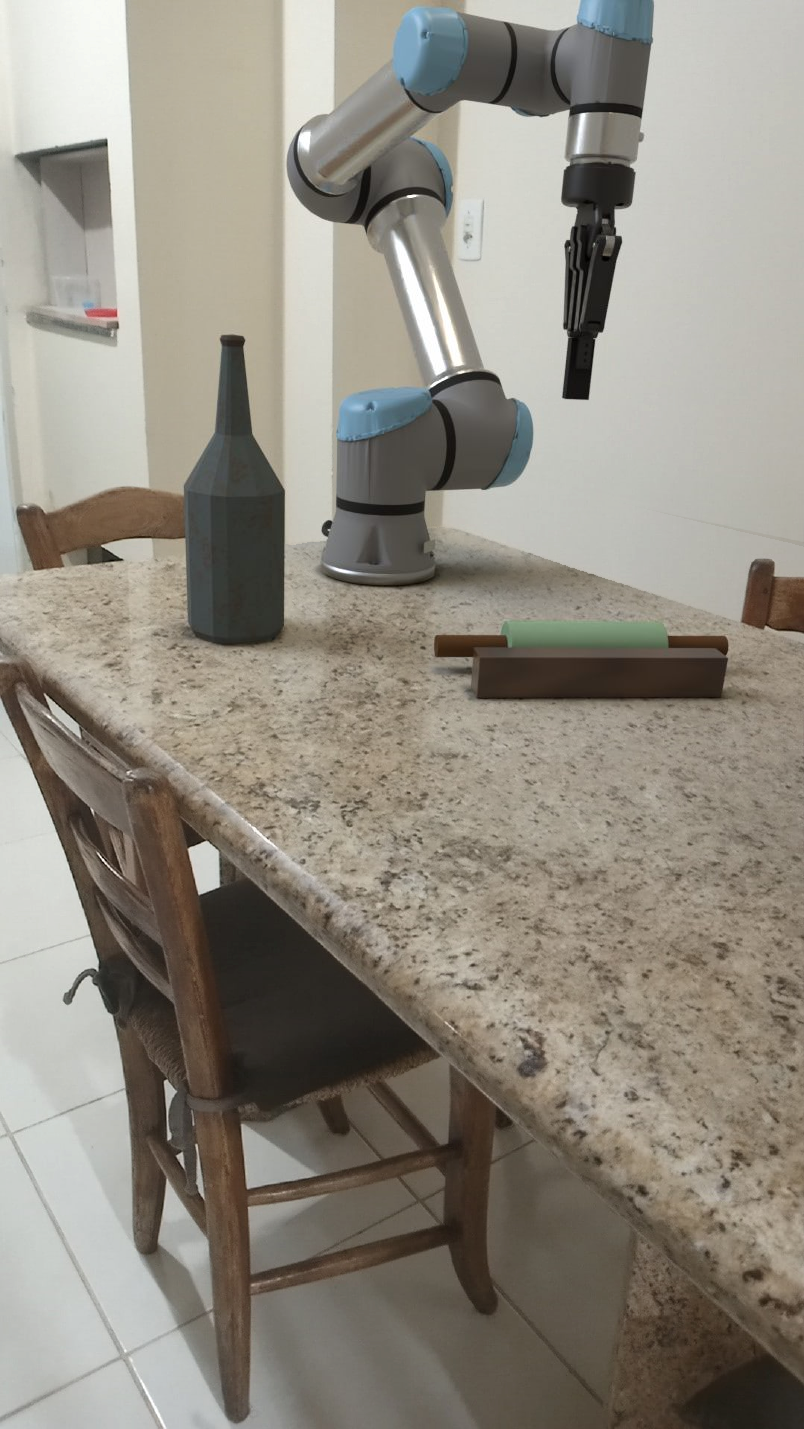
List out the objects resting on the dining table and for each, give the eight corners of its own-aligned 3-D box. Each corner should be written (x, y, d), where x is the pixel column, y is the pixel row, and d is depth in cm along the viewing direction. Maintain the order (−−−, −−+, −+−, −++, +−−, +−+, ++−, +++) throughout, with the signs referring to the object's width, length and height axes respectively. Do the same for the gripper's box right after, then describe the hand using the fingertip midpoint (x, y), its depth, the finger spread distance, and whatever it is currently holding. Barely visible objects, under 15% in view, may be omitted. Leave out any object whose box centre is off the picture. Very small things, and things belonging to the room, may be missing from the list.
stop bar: (476, 698, 95) (480, 657, 93) (470, 686, 98) (473, 647, 96) (721, 697, 98) (728, 658, 97) (708, 686, 101) (715, 647, 99)
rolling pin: (440, 620, 98) (431, 620, 103) (440, 672, 98) (431, 670, 103) (736, 622, 102) (713, 622, 107) (734, 672, 103) (712, 669, 108)
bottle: (302, 631, 111) (306, 337, 100) (238, 652, 104) (234, 337, 92) (234, 612, 116) (230, 331, 105) (168, 630, 109) (157, 330, 98)
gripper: (656, 160, 102) (625, 406, 111) (614, 174, 114) (589, 395, 123) (584, 155, 101) (558, 403, 110) (549, 169, 113) (529, 392, 122)
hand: (575, 398), depth 116 cm, fingers closed
